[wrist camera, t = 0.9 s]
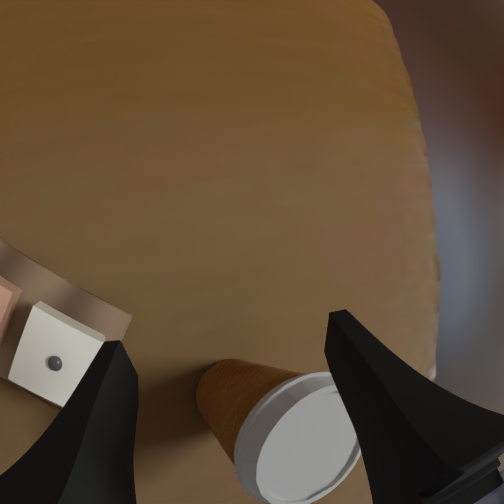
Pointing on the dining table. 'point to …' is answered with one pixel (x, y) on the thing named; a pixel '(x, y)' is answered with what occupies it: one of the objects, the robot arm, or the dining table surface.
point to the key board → (51, 304)
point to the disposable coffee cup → (279, 429)
